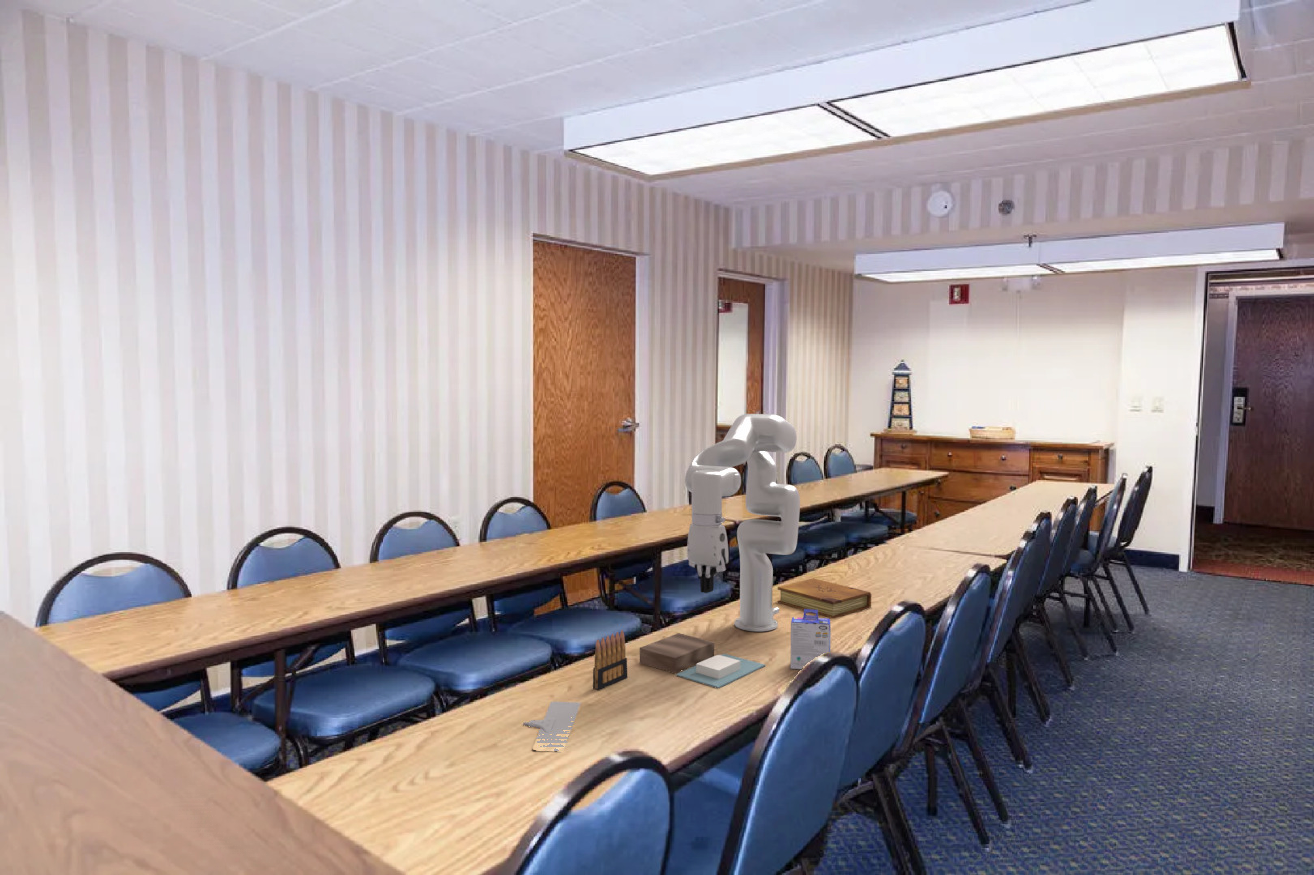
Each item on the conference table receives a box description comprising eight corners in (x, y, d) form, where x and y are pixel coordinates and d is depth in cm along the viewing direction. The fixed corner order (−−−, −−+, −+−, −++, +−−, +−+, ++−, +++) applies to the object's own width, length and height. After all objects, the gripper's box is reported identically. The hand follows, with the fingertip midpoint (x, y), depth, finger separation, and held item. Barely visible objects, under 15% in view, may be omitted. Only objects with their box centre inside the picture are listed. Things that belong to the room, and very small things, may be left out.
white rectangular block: (740, 660, 210) (740, 669, 210) (718, 654, 214) (718, 663, 215) (718, 670, 203) (718, 679, 203) (696, 663, 208) (696, 672, 208)
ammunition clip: (621, 676, 207) (621, 628, 206) (627, 677, 206) (627, 630, 205) (592, 689, 198) (592, 639, 197) (598, 690, 197) (598, 641, 196)
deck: (678, 647, 228) (678, 633, 228) (714, 657, 220) (714, 642, 220) (639, 662, 216) (639, 647, 216) (675, 673, 208) (675, 658, 208)
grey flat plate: (533, 703, 191) (533, 698, 190) (636, 707, 190) (637, 702, 190) (511, 753, 166) (511, 747, 166) (629, 757, 165) (630, 752, 165)
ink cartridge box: (830, 664, 215) (830, 609, 213) (830, 672, 209) (831, 615, 208) (791, 662, 216) (791, 607, 215) (790, 669, 211) (790, 613, 210)
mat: (723, 655, 222) (723, 653, 222) (765, 666, 213) (765, 664, 213) (676, 675, 207) (676, 674, 207) (718, 688, 198) (718, 687, 198)
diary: (871, 609, 267) (871, 591, 266) (833, 620, 255) (833, 601, 255) (814, 594, 285) (815, 577, 284) (777, 603, 273) (777, 586, 272)
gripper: (740, 521, 207) (739, 593, 209) (692, 514, 217) (692, 583, 218) (722, 525, 201) (722, 600, 203) (674, 518, 211) (674, 589, 213)
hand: (706, 591), depth 211 cm, fingers closed
